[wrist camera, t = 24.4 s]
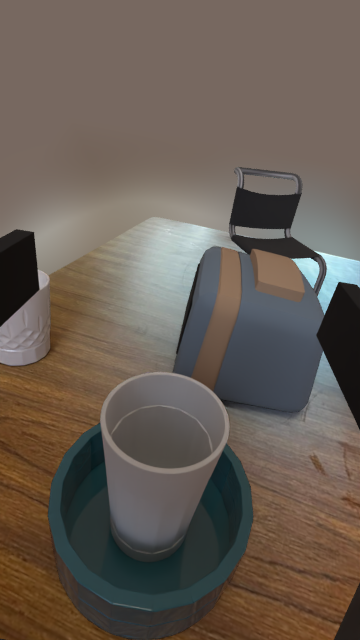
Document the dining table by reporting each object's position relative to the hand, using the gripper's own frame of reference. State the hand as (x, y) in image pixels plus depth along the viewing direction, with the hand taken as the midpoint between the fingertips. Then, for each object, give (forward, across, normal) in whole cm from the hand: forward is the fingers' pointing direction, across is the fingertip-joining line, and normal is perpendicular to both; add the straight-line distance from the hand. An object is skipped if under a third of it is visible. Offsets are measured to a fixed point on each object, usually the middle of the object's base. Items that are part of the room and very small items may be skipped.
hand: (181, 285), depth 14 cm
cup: (+1, 0, -22) cm, 22 cm away
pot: (+1, 0, -22) cm, 22 cm away
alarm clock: (+23, +8, -22) cm, 33 cm away
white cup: (+19, -20, -22) cm, 35 cm away
